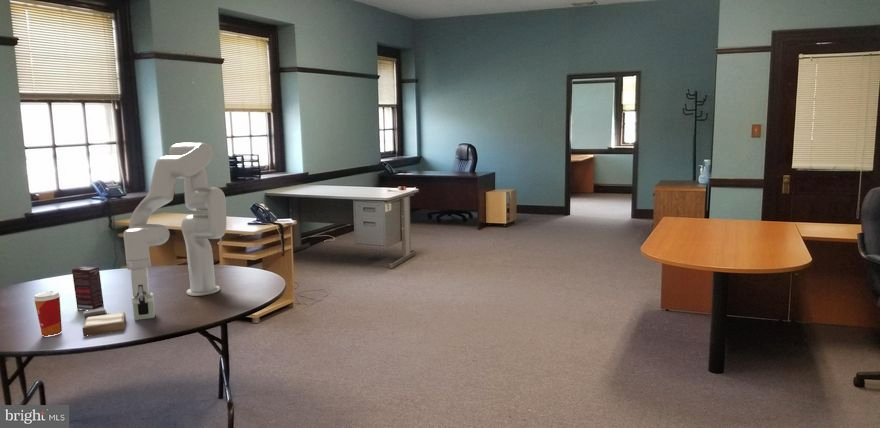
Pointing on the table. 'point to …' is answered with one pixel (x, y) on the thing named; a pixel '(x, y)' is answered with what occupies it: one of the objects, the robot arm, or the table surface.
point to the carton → (150, 307)
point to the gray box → (94, 313)
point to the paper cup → (49, 312)
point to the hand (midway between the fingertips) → (144, 310)
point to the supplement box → (88, 288)
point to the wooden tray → (104, 324)
